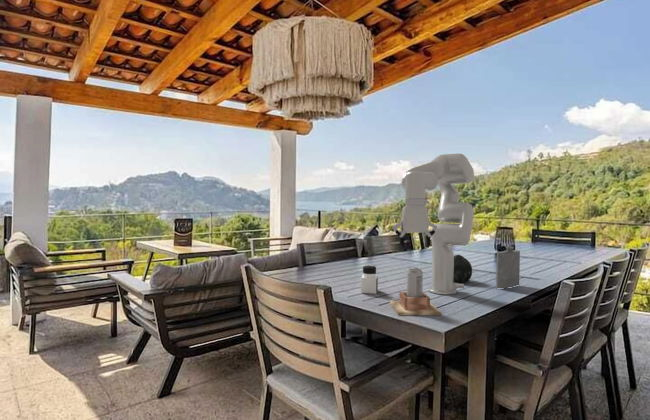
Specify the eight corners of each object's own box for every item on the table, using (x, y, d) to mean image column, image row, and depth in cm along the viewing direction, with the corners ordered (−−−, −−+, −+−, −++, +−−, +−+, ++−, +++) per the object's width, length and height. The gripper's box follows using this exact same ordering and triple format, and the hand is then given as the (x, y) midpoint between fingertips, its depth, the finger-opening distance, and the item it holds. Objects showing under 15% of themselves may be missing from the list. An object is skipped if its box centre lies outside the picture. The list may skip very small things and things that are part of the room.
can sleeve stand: (428, 303, 157) (428, 289, 156) (440, 315, 141) (441, 300, 140) (389, 303, 156) (390, 289, 156) (397, 315, 140) (398, 300, 140)
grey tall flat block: (514, 284, 190) (515, 244, 189) (522, 286, 187) (523, 245, 186) (494, 288, 182) (495, 247, 181) (502, 290, 178) (503, 248, 178)
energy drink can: (411, 303, 153) (412, 266, 152) (425, 306, 149) (425, 268, 148) (403, 306, 149) (403, 268, 148) (417, 309, 144) (417, 270, 144)
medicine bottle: (376, 294, 171) (376, 267, 171) (360, 293, 173) (360, 267, 172) (377, 290, 178) (377, 264, 178) (362, 289, 180) (362, 264, 179)
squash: (454, 266, 210) (445, 247, 203) (480, 271, 199) (472, 252, 191) (443, 286, 204) (433, 267, 196) (469, 292, 192) (460, 273, 185)
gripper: (434, 203, 151) (433, 246, 152) (391, 203, 151) (390, 246, 151) (440, 203, 144) (439, 248, 144) (394, 203, 143) (394, 248, 144)
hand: (414, 247), depth 148 cm, fingers open, 9 cm apart
